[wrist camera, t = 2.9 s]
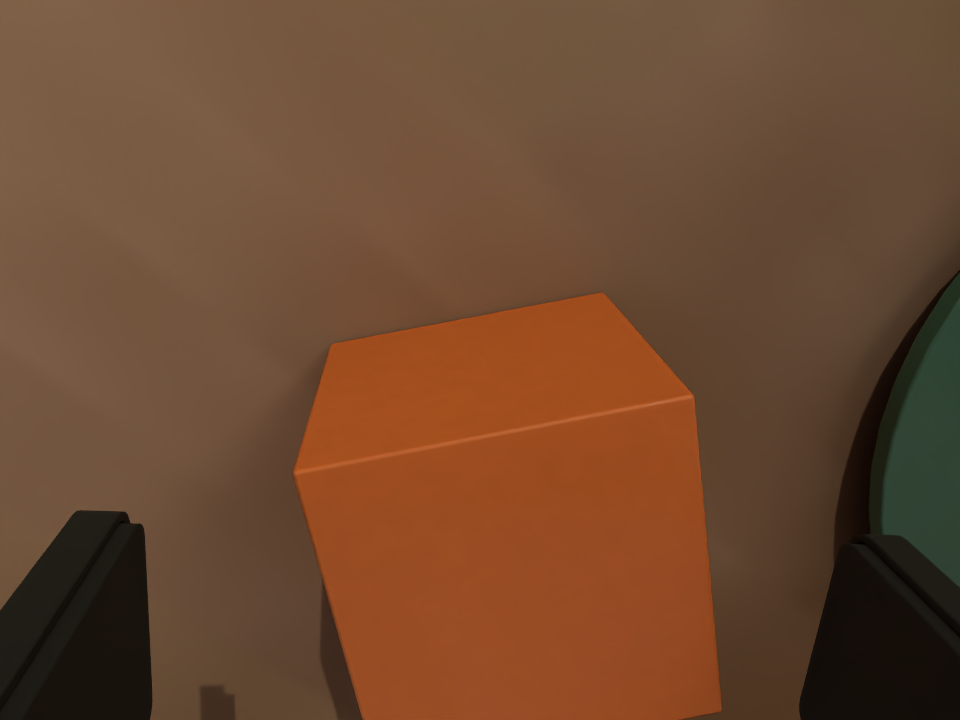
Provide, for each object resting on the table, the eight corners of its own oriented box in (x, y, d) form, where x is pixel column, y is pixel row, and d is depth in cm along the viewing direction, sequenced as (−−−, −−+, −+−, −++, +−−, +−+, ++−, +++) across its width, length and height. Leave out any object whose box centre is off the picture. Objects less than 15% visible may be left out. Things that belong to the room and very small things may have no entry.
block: (603, 290, 15) (695, 394, 10) (633, 528, 16) (724, 713, 12) (329, 343, 15) (290, 472, 10) (388, 576, 16) (379, 782, 12)
